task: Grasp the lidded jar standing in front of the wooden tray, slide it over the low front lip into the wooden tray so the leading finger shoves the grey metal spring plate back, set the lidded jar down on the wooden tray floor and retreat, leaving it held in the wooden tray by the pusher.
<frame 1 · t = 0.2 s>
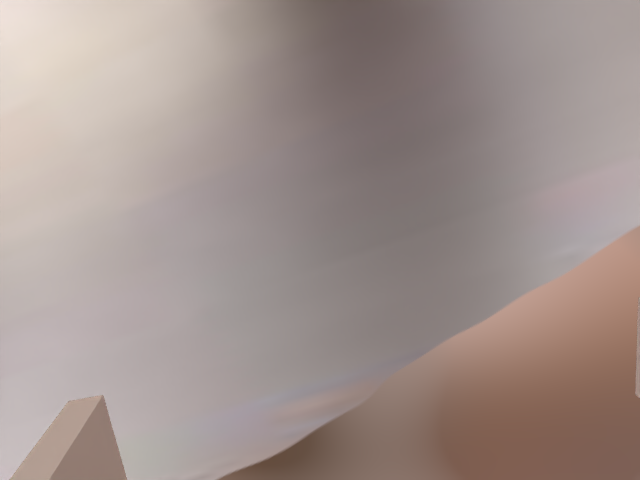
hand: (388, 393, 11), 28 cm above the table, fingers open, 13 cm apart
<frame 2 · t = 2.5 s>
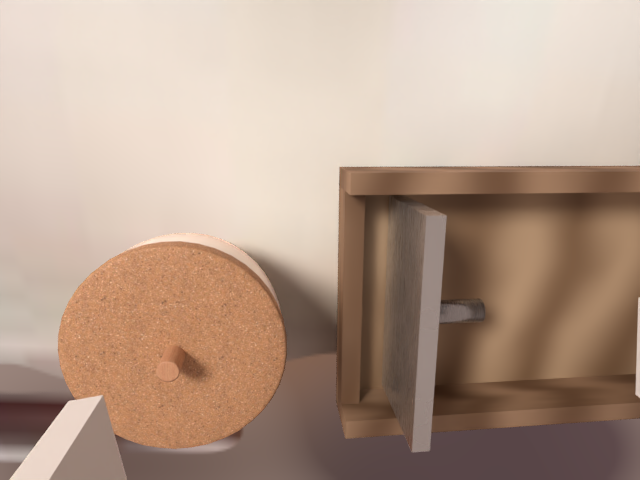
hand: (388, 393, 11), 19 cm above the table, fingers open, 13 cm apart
pusher: (441, 313, 27), point 4 cm above the table, slide at 0.0 cm
wooden tray: (549, 284, 32), on the table
lidded jar: (199, 295, 29), on the table
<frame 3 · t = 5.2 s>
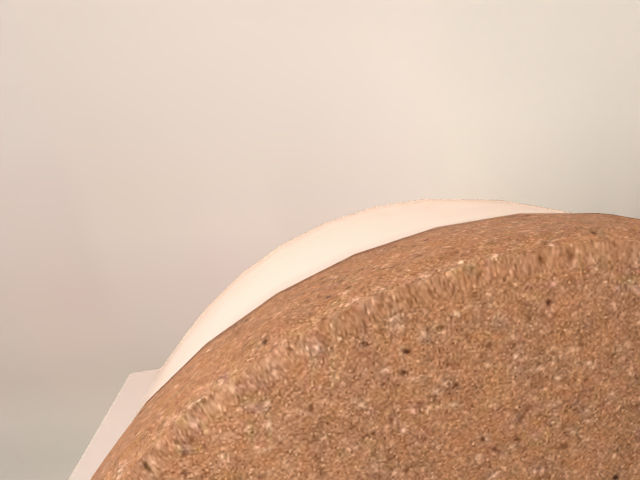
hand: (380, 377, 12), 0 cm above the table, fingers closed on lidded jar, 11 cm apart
lidded jar: (374, 363, 12), on the table, touching gripper
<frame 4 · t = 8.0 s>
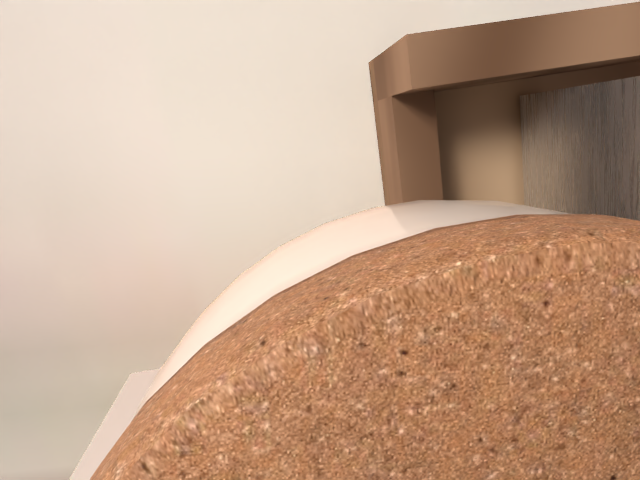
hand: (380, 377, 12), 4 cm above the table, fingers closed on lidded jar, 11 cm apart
lidded jar: (374, 363, 12), point 4 cm above the table, touching gripper
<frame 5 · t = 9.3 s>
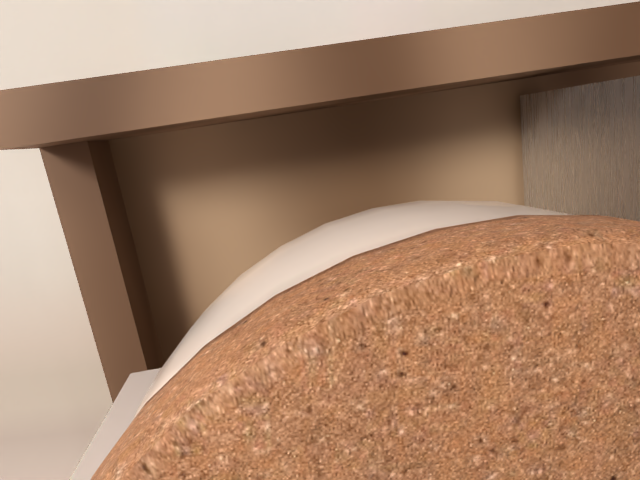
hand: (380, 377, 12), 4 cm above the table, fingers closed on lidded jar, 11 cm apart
wooden tray: (547, 277, 17), on the table
lidded jar: (374, 363, 12), point 4 cm above the table, touching gripper
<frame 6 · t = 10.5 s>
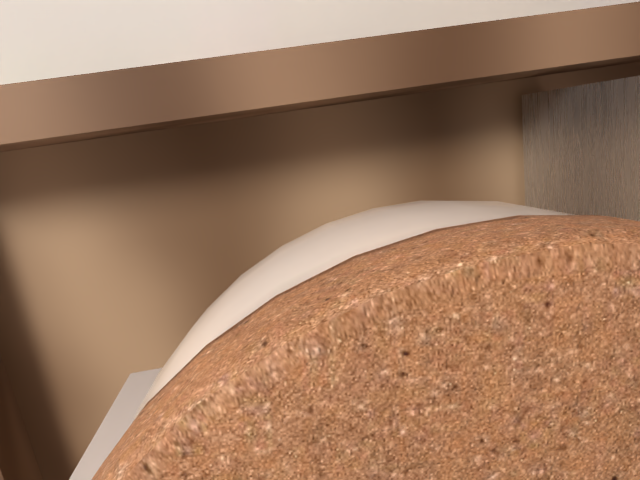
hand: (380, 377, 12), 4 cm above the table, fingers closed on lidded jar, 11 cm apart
wooden tray: (418, 299, 16), on the table
lidded jar: (374, 363, 12), point 4 cm above the table, touching gripper
when the fingers open (4 cm above the table, at t = 10.7 s): lidded jar drops 3 cm, resting on wooden tray.
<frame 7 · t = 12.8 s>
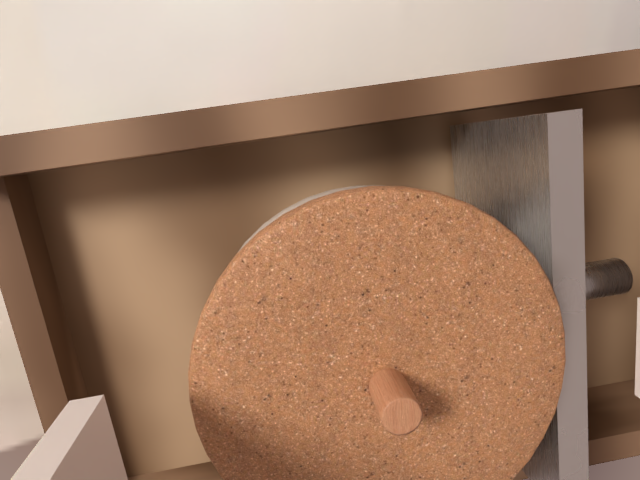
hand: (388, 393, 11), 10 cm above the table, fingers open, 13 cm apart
pusher: (562, 288, 17), point 4 cm above the table, slide at 15.2 cm
wooden tray: (386, 281, 21), on the table
lidded jar: (342, 293, 20), resting on wooden tray
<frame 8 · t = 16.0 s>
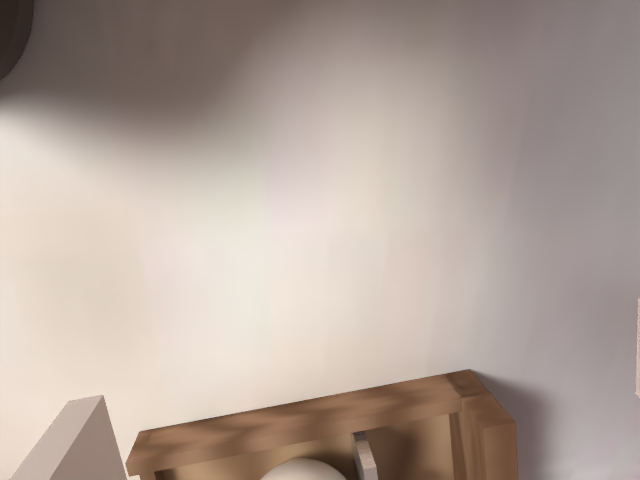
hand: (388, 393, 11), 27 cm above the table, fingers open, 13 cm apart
wooden tray: (321, 476, 43), on the table
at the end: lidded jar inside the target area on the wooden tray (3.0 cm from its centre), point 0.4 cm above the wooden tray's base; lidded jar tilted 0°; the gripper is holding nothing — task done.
